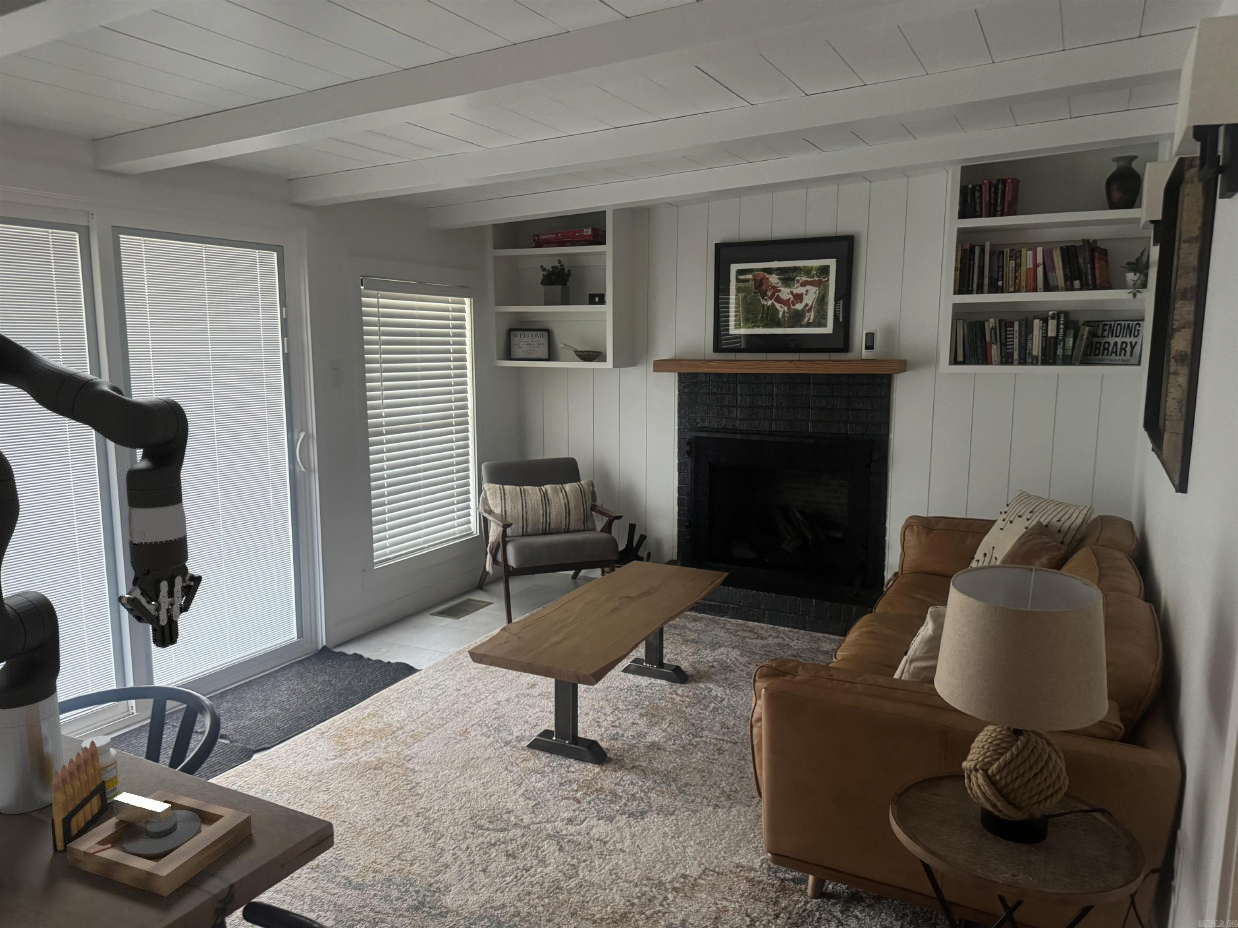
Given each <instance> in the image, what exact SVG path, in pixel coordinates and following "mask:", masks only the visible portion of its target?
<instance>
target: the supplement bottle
mask: <svg viewBox="0 0 1238 928" xmlns="http://www.w3.org/2000/svg"><path fill="white" fill-rule="evenodd" d="M92 740H93V741H94V742H95V744H96V747H97V750H98V757H99V762H100V765H101V772H102V780H105V788H106V796H107V804H110V803H112V802H114V801H113V799H114V798H116V797H117V796H119V795H121V780H120V769H119V760H118V759H119V758H118V752H117V751H116V750H115V748H112V739H111V737H110V736H109V735H98V736H93V737H89V738H88V739H85V740H84V741H83V742H82V743H81V745H80V748H81V749H80V750H81V754H82V753H83V749H84V747H85V746H86V747H87V748H88V750H89V747H90V743H91V741H92Z"/></svg>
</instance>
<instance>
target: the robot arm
mask: <svg viewBox="0 0 1238 928" xmlns="http://www.w3.org/2000/svg"><path fill="white" fill-rule="evenodd" d="M0 384H3V385H7V386H12V387H15V388H17V389H19V390H21V391H23V392H25V393H27V394H28V395H29V396H30V398H32V400H34V402H36V403H37V404H38V405H39V406H41V407H43V408H44V409H46V410H48V411H50V412H51V413H53V414H56V415H57V416H61V417H64V418H66V419H69V420H72V421H74V422H77V423H79V424H82V425H86V426H88V427H90V428H91V429H92V430H94V431H95V433H96V432H97V433H98V434H100V436H103V437H104V438H106V439H107V440H108V441H110V442H111V443H114V444H115V445H117V446H120V447H123V448H127V449H132V450H142V452H141V453H142V454H141V457H140V459H139V461H138V462H137V463H135V464H134V465H132V466H130V468H128V470H127V471H126V475H125V486H126V487H125V488H126V500H127V518H126V520H127V521H126V525H127V537H128V539H127V540H128V549H129V562H130V563H129V565H130V567H131V568H132V570H133V573H134V575H133V578H132V581H131V586H132V587H131V588H130V590H128V591H127V593H126V594H120V595H119V596H118V598H117V600H118V603H119V604H120V605H121V606H122V607H123V608H124V610H125V611H127V612H128V613H129V614H130V615H131V617H132V618H133V619H134V620H135V621H136V622H137V623H138V624H146V625H149V626H151V638H152V639H151V640H152V644H153V645H154V646H155V647H156V648H158V649H159V648H160V649H167V648H168V647H170V646H174V645H176V644H177V643H178V639H179V635H180V634H179V619H180V616H181V615H182V614H183V613H188V612H189V611H190V609H191V606H192V604H193V601H194V599H195V597H196V595H197V592H198V589H199V588H200V586H201V583H202V581H203V576H202V575H201V574H194V573H192V572H190V571H189V567H188V566H187V562H188V561H189V548H188V547H189V545H188V533H187V530H188V529H187V517H186V512H185V507H184V502H183V501H184V499H183V491H182V490H183V486H182V485H183V484H182V476H181V475H182V469H183V466H184V461H185V457H186V452H187V451H186V450H187V445H188V440H189V429H190V427H189V421H188V417H187V414H186V411H185V410H184V408H183V407H182V406H181V404H180V403H179V402H177V401H176V400H175V399H173V398H171V397H165V396H159V397H157V396H156V397H148V398H139V399H138V398H137V399H135V398H131V397H127V396H126V397H125V394H124V392H123V390H122V389H121V388H120V387H119V386H118V385H116V384H114V383H112V382H110V381H108V380H105V379H102V378H100V377H98V376H95V375H92V374H89V373H86V372H84V371H81V370H78V369H76V368H74V367H73V368H72V367H70V366H68V365H64V364H62V363H59V362H58V361H55V360H52V359H50V358H48V357H46V356H44V355H42V354H40V353H38V352H36V351H34V350H33V349H30V348H28V347H27V346H24V345H22V344H20V343H19V342H18V341H16V340H14V339H12V338H11V337H9V336H7V335H5V334H4V333H2V332H0ZM20 506H21V505H20V498H19V493H18V489H17V482H16V478H15V473H14V469H13V467H12V464H11V463H10V461H9V459H8V458H7V456H6V455H5V454H4V452H3V451H2V450H1V449H0V664H2V663H4V664H3V666H2V667H1V668H0V813H1V814H7V815H17V814H18V815H19V814H24V813H30V812H34V811H37V810H40V809H42V808H45V807H47V806H49V805H51V804H52V798H53V786H52V785H53V776H54V773H55V771H58V773H59V774H60V773H61V768H62V766H63V765H65V758H64V749H63V739H62V727H61V725H62V724H61V718H60V706H59V698H58V695H59V694H58V686H57V681H58V677H59V675H60V672H61V652H60V651H61V647H60V646H61V645H60V642H61V641H60V625H59V619H58V615H57V611H56V609H55V607H54V604H53V603H52V602H51V600H50V599H49V598H48V597H47V596H46V595H44V594H43V593H41V592H38V591H35V590H27V591H20V592H17V593H14V594H10V595H8V596H6V597H4V595H3V588H2V586H3V585H2V566H3V562H4V559H5V555H6V553H7V552H6V551H7V549H8V547H9V545H10V543H11V539H12V537H13V534H14V532H15V530H16V527H17V525H18V520H19V517H20V512H21V509H20Z"/></svg>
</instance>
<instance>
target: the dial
mask: <svg viewBox="0 0 1238 928" xmlns="http://www.w3.org/2000/svg"><path fill="white" fill-rule="evenodd" d="M112 802H113V812H114V817H115V818H118V819H121V820H124V821H128V822H131V823H135V824H133V825H132V826H130V827H129V828H128V829H127V830H126V831H125V832H124V834H123V836H122V838H121V844H122V851H123V852H124V853H127V854H130V855H133V856H137V857H140V858H143V859H146V860H149V859H156V858H161V857H165V856H168V855H169V854H171V853H172V852H174V851H175V850H176V849H178V848H179V847H181V846H182V845H184V844H185V843H187V842H188V841H189V840H191V839H192V838H194V837H195V836H197V835H198V834H200V832H201V819H200V817H199V816H198V815H197V814H196V813H194V812H191V811H187V810H171V805H168V804H165V803H161V802H158V801H154V800H150V799H147V797H142V796H139V795H135V794H131V793H127V792H122V793H120V795H119V796H117V797H116V798H114V799H113V801H112Z"/></svg>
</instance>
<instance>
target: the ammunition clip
mask: <svg viewBox="0 0 1238 928" xmlns="http://www.w3.org/2000/svg"><path fill="white" fill-rule="evenodd" d="M52 786H53V798H52V805H51V807H52V815H53V816H52V817H51V818H50V822H51V823H50V824H51V835H52V837H51V838H52V849H53V851H52V852H57V853H58V852H67V845H68V844H70V843H71V842H73V841H75V840H76V839H78V838H80V837H81V836H83V835H85V834H87V833H88V832H89V830H90V829H91V828H92V827H93V825H94V824H95V823H96V822H97V821H98V820H99V819H101V817H102V816H103V815H104V814H105V813H106V812H108V810H109V806H108V803H107V796H106V788H105V780H102V772H101V765H100V762H99V757H98V750H97V747H96V744H95V742H94V741H93V740H92V741H91V743H90V747H89V750H88V748H87V747H86V746H85V747H84V749H83V753H82V752H81V753H80V752H79V751H78V752H76V755H75V759H73V758H72V757H71V758H70V759H69V761H68V765H65V764H64V765H63V766H62V768H61V773H60V774H59V773H58V771H55V773H54V776H53V785H52ZM86 832H87V833H86Z"/></svg>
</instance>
